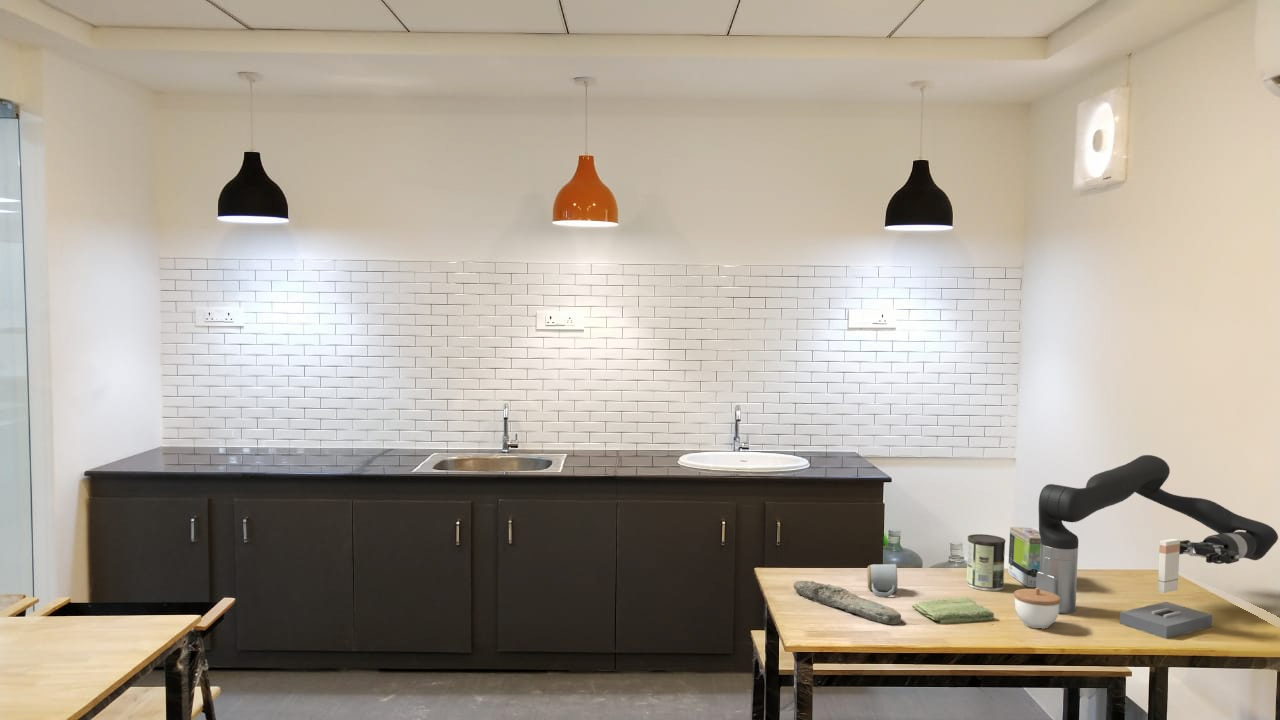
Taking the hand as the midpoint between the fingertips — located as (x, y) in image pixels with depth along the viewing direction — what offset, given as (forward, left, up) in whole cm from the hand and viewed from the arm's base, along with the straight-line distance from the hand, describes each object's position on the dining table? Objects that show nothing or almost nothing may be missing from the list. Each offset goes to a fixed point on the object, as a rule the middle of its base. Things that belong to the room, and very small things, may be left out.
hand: (1190, 554), depth 238 cm
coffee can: (-28, +42, -18) cm, 54 cm away
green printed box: (-10, +41, -18) cm, 46 cm away
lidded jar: (-41, +11, -18) cm, 46 cm away
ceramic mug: (-60, +48, -18) cm, 79 cm away
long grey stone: (-78, +41, -18) cm, 90 cm away
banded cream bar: (-9, -1, -9) cm, 13 cm away
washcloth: (-56, +25, -18) cm, 64 cm away
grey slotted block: (-9, -1, -17) cm, 20 cm away
